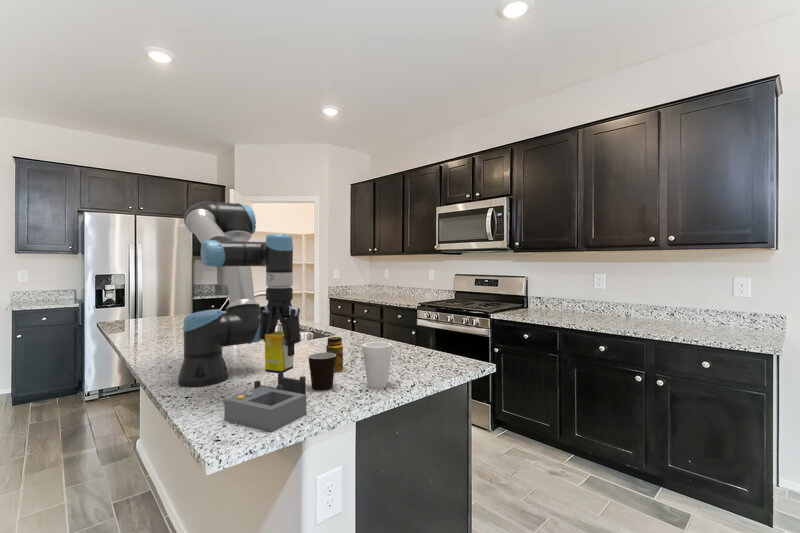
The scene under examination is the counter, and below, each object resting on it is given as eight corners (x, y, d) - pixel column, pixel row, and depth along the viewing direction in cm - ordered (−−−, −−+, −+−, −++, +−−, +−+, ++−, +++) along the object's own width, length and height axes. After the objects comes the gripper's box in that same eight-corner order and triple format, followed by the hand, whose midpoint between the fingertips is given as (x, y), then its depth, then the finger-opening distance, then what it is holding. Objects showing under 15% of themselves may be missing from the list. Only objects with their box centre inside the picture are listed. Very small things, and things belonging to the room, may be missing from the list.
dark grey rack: (254, 399, 112) (254, 381, 112) (280, 389, 121) (280, 372, 121) (280, 405, 107) (279, 386, 107) (305, 394, 116) (305, 376, 116)
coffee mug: (330, 392, 118) (329, 359, 118) (303, 390, 119) (303, 358, 119) (343, 381, 129) (343, 351, 129) (319, 380, 131) (318, 350, 131)
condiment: (347, 370, 143) (347, 337, 143) (328, 375, 137) (328, 341, 137) (336, 366, 148) (336, 335, 148) (317, 371, 142) (316, 338, 142)
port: (224, 419, 97) (224, 397, 97) (261, 404, 108) (261, 384, 108) (271, 431, 90) (271, 407, 90) (306, 414, 100) (306, 392, 100)
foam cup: (356, 385, 124) (356, 345, 124) (377, 379, 131) (377, 340, 131) (377, 392, 118) (377, 349, 118) (398, 385, 124) (397, 344, 124)
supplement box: (276, 366, 118) (276, 330, 118) (293, 368, 116) (294, 332, 116) (264, 372, 113) (264, 334, 112) (281, 374, 111) (282, 335, 111)
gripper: (245, 286, 115) (245, 363, 116) (295, 289, 106) (295, 373, 107) (265, 285, 122) (265, 358, 122) (313, 287, 113) (313, 366, 113)
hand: (279, 365), depth 114 cm, fingers closed on supplement box, 6 cm apart
